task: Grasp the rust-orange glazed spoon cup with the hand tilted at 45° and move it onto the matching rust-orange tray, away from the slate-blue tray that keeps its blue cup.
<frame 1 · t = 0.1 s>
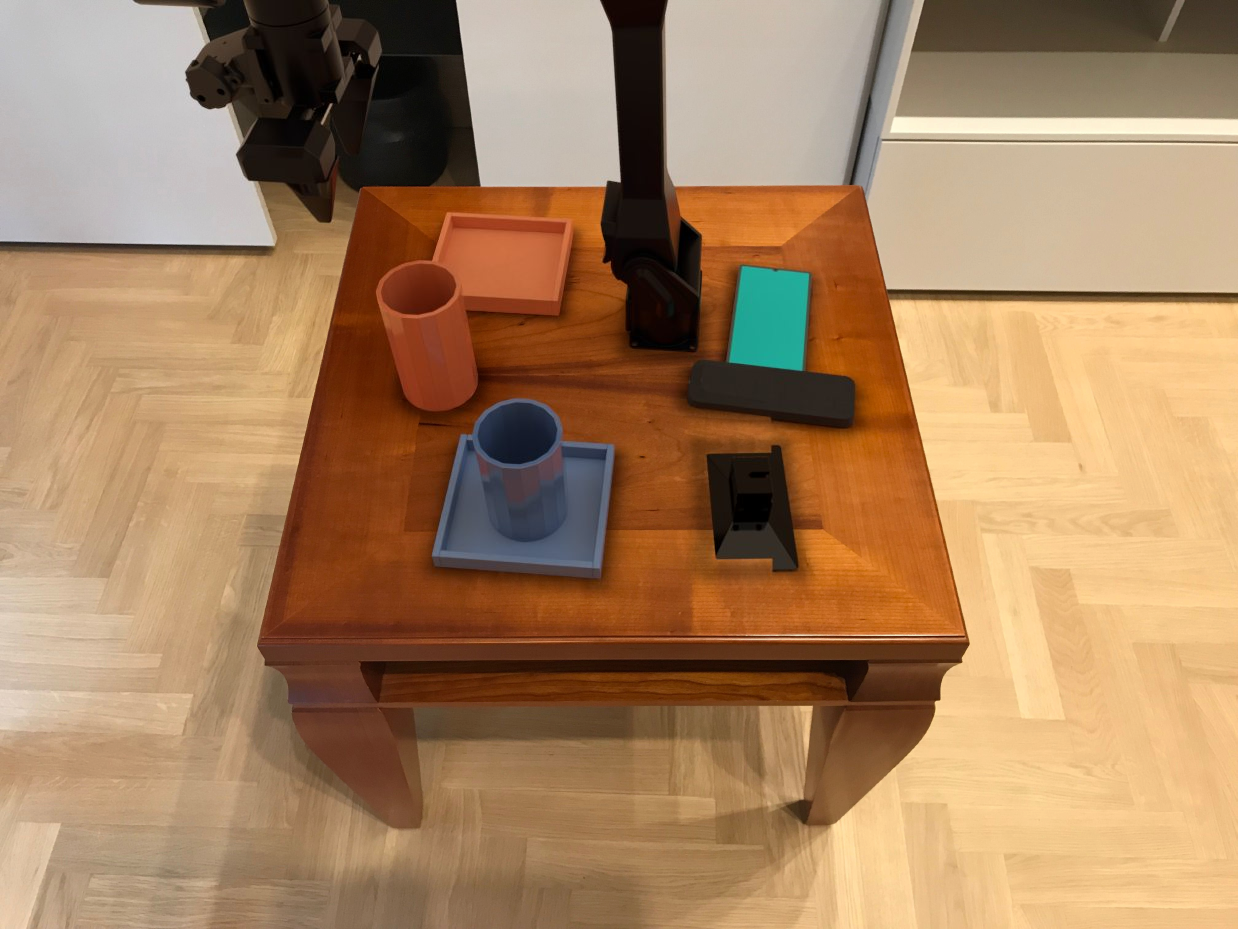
hand: (339, 186, 81), 15 cm above the table, tool pointing down, fingers open, 9 cm apart
rust cup: (441, 386, 87), on the table
remote control: (770, 398, 86), on the table, touching smartphone
black stand: (746, 508, 79), on the table
smartphone: (769, 328, 91), on the table, touching remote control
rust tray: (501, 269, 96), on the table
blue tray: (528, 511, 78), on the table
blue cup: (528, 507, 78), resting on blue tray
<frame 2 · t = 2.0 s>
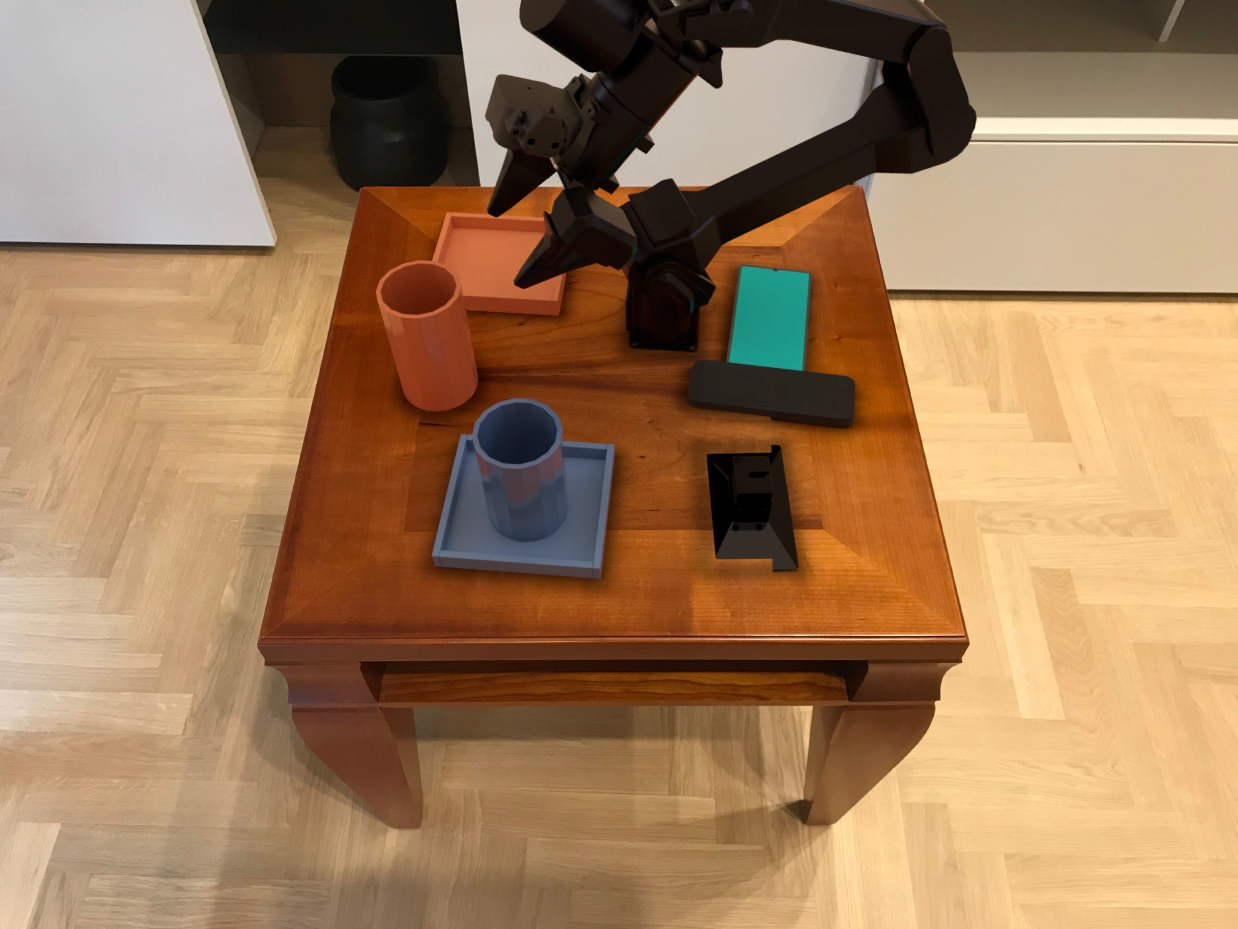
hand: (504, 249, 77), 14 cm above the table, tool tilted 40°, fingers open, 9 cm apart
nothing on the table moved.
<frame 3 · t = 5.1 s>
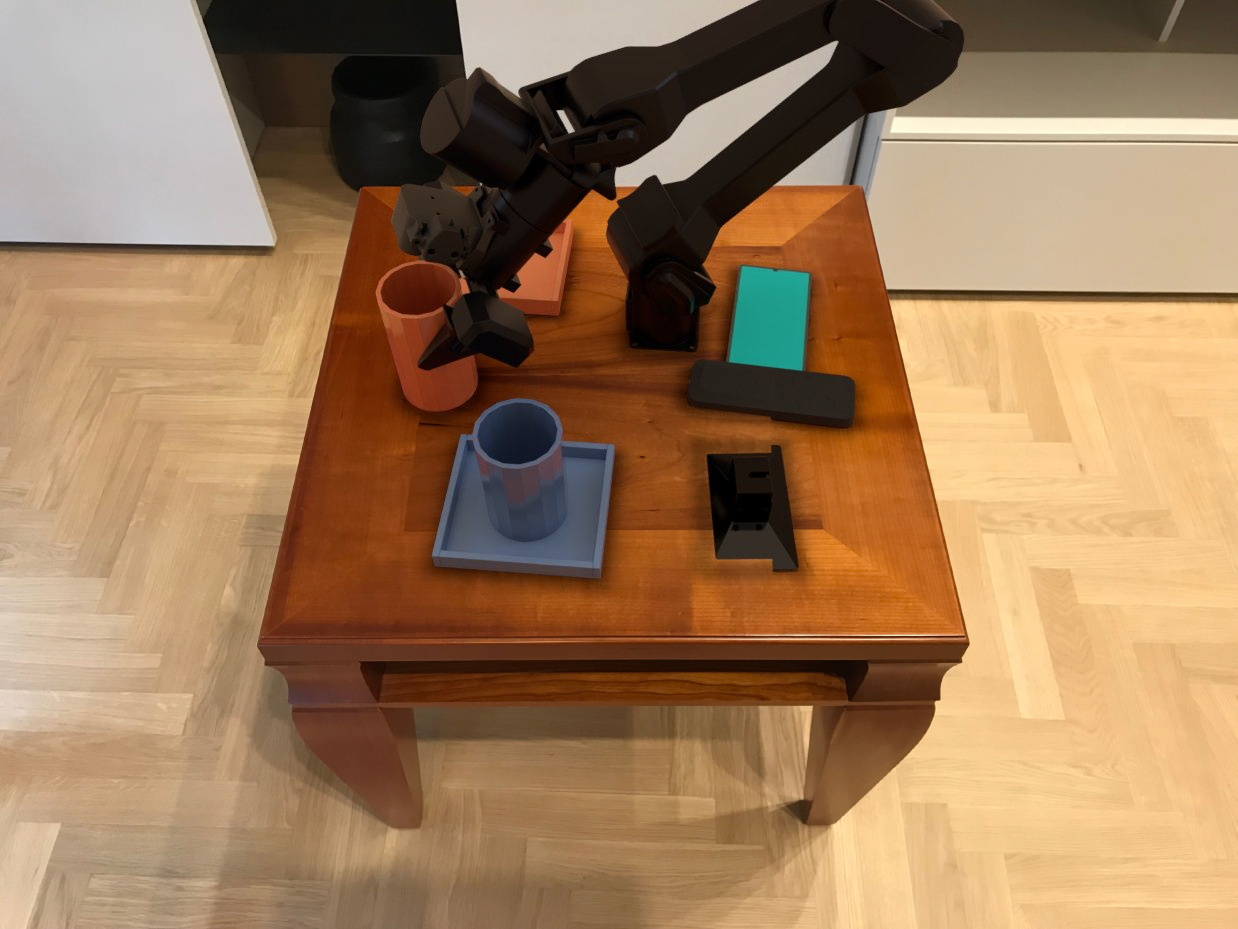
hand: (413, 338, 81), 7 cm above the table, tool tilted 45°, fingers closed on rust cup, 7 cm apart
rust cup: (441, 386, 87), on the table, touching gripper
everything else where it was.
when the fingers open (7 cm above the table, at t = 10.7 s): rust cup stays where it is, resting on rust tray.
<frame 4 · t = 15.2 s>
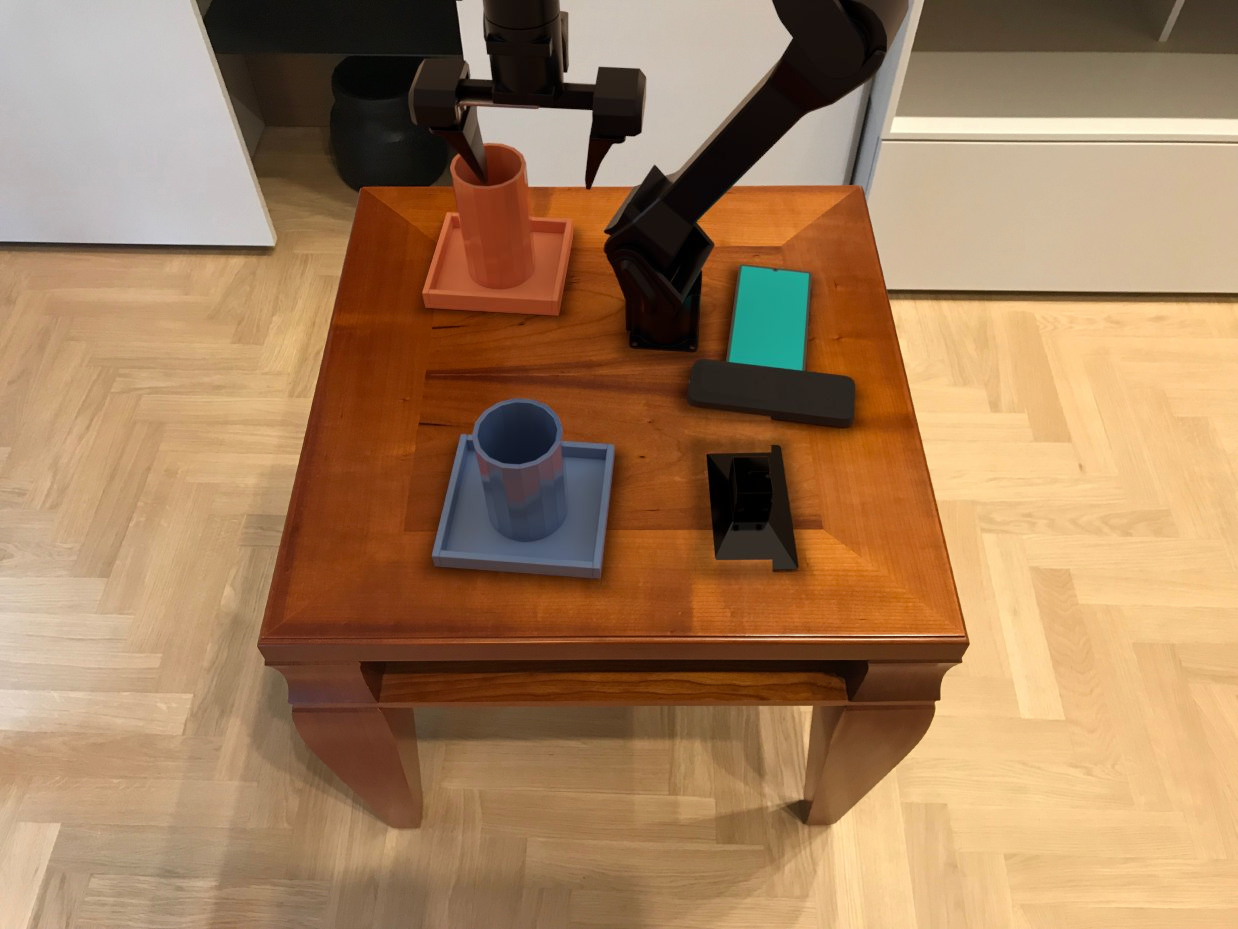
hand: (537, 183, 83), 13 cm above the table, tool pointing down, fingers open, 9 cm apart
rust cup: (501, 266, 95), resting on rust tray
everything else where it was.
at the end: rust cup inside the target area in the rust tray (0.0 cm from its centre), point 0.5 cm above the rust tray's base; rust cup tilted 0°; blue cup inside the target area in the blue tray (0.0 cm from its centre), point 0.5 cm above the blue tray's base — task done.
